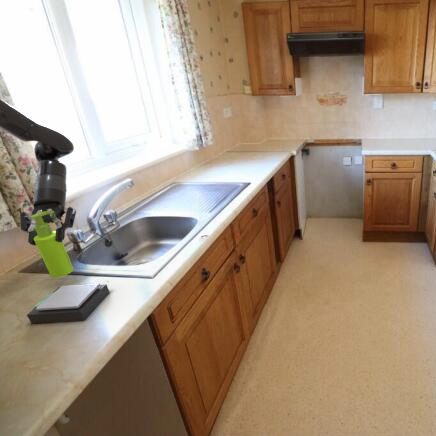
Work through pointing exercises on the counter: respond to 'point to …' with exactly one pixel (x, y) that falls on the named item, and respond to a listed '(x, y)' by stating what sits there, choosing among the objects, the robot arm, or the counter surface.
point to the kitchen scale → (69, 303)
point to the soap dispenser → (51, 248)
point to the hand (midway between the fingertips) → (46, 242)
